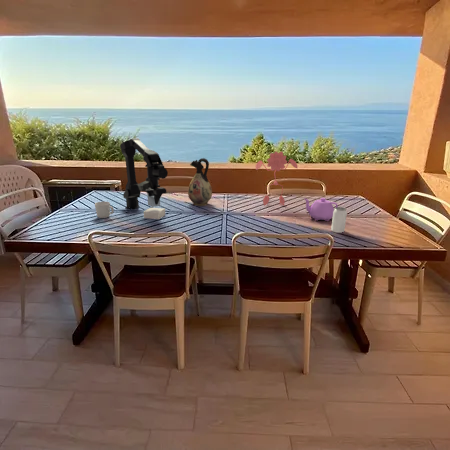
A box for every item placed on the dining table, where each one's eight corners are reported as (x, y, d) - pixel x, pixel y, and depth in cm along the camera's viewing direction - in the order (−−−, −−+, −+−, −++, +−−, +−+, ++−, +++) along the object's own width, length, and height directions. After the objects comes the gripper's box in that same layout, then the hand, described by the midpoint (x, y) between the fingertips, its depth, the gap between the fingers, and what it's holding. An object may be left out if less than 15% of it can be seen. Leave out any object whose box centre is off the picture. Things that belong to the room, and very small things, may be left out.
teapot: (303, 221, 192) (305, 200, 188) (300, 214, 206) (302, 194, 202) (339, 223, 191) (342, 201, 187) (334, 216, 204) (337, 195, 200)
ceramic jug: (183, 205, 220) (182, 158, 210) (194, 200, 233) (194, 155, 224) (208, 209, 214) (208, 160, 204) (217, 203, 227) (218, 157, 218)
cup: (118, 216, 195) (117, 202, 193) (109, 220, 188) (108, 206, 186) (102, 214, 198) (101, 200, 196) (92, 218, 191) (91, 204, 189)
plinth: (143, 218, 194) (143, 211, 192) (150, 214, 202) (150, 207, 201) (158, 219, 192) (158, 212, 190) (165, 215, 200) (164, 208, 199)
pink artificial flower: (253, 203, 230) (255, 149, 218) (292, 204, 229) (296, 150, 218) (254, 209, 215) (257, 152, 203) (296, 210, 215) (301, 153, 203)
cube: (160, 205, 195) (159, 196, 193) (152, 206, 191) (151, 198, 190) (155, 203, 198) (155, 195, 197) (147, 205, 195) (147, 196, 194)
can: (329, 229, 180) (331, 207, 177) (341, 229, 181) (344, 206, 177) (333, 233, 174) (336, 210, 171) (346, 233, 175) (349, 210, 171)
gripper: (131, 174, 191) (133, 202, 196) (147, 180, 178) (149, 209, 183) (149, 173, 198) (150, 199, 203) (166, 178, 185) (167, 206, 190)
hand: (154, 203), depth 194 cm, fingers closed on cube, 5 cm apart
